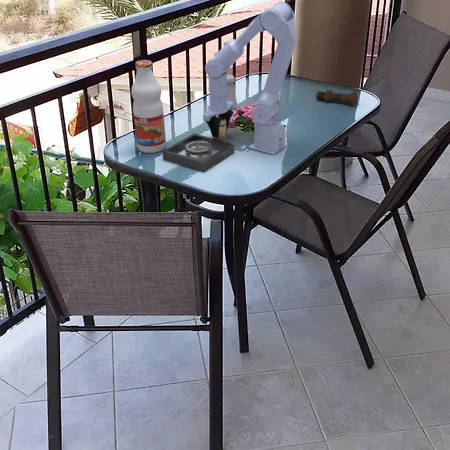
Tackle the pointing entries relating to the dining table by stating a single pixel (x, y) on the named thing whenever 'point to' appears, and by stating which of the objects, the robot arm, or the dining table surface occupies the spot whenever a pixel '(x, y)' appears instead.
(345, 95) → the bolt
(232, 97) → the salt shaker
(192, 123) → the dining table surface
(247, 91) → the dining table surface
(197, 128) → the dining table surface
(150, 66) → the fruit juice
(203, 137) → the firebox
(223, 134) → the beige cylinder
